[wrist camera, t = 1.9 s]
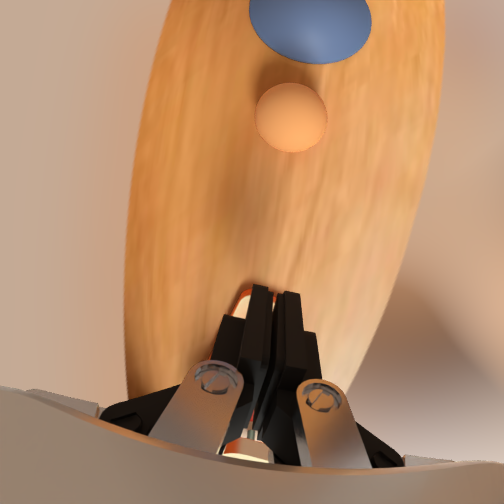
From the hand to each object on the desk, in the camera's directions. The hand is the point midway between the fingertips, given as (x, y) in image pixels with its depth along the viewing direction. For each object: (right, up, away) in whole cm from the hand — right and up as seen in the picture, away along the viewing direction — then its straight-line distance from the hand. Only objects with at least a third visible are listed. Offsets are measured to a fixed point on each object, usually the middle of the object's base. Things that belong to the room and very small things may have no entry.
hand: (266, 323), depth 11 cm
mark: (+5, +26, +11) cm, 29 cm away
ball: (+3, +14, +13) cm, 19 cm away
